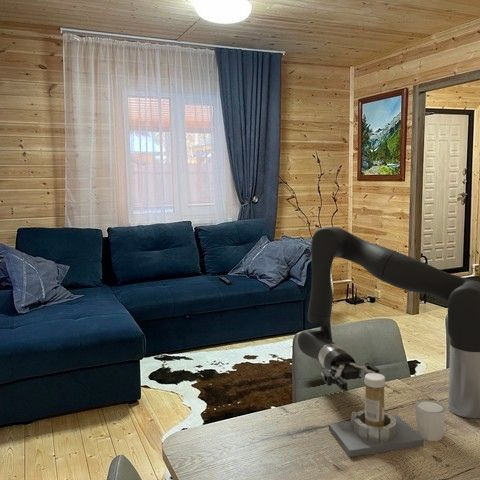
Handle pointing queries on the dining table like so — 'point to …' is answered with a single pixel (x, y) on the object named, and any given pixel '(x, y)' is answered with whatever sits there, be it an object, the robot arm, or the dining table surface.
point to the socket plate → (362, 447)
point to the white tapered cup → (430, 419)
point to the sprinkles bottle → (374, 399)
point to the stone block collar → (372, 432)
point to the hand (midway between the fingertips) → (362, 385)
